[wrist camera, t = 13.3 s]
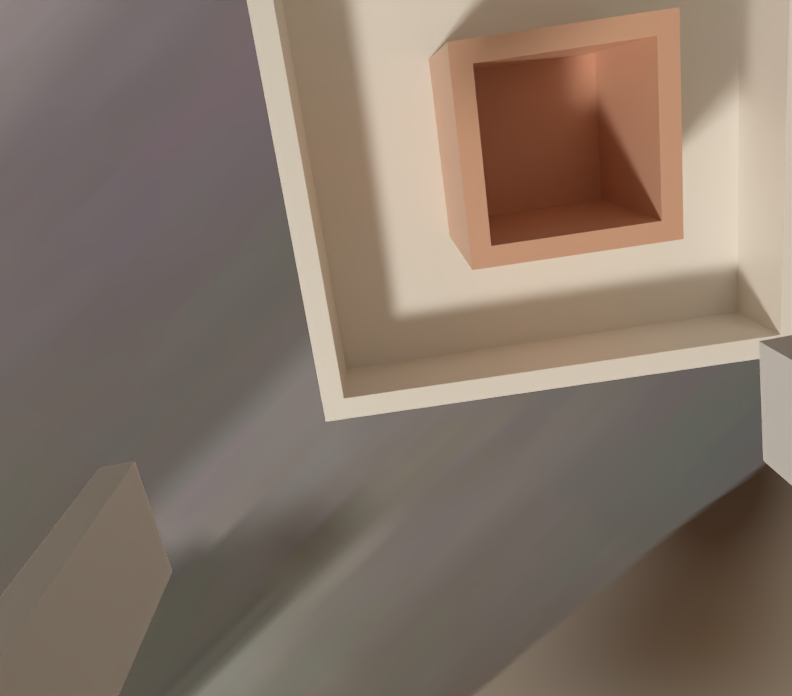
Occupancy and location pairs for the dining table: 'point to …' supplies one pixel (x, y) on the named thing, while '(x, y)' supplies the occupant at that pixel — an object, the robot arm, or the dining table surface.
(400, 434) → the dining table surface
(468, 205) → the small crate
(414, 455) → the dining table surface
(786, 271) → the cream square tray
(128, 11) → the dining table surface
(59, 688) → the robot arm
